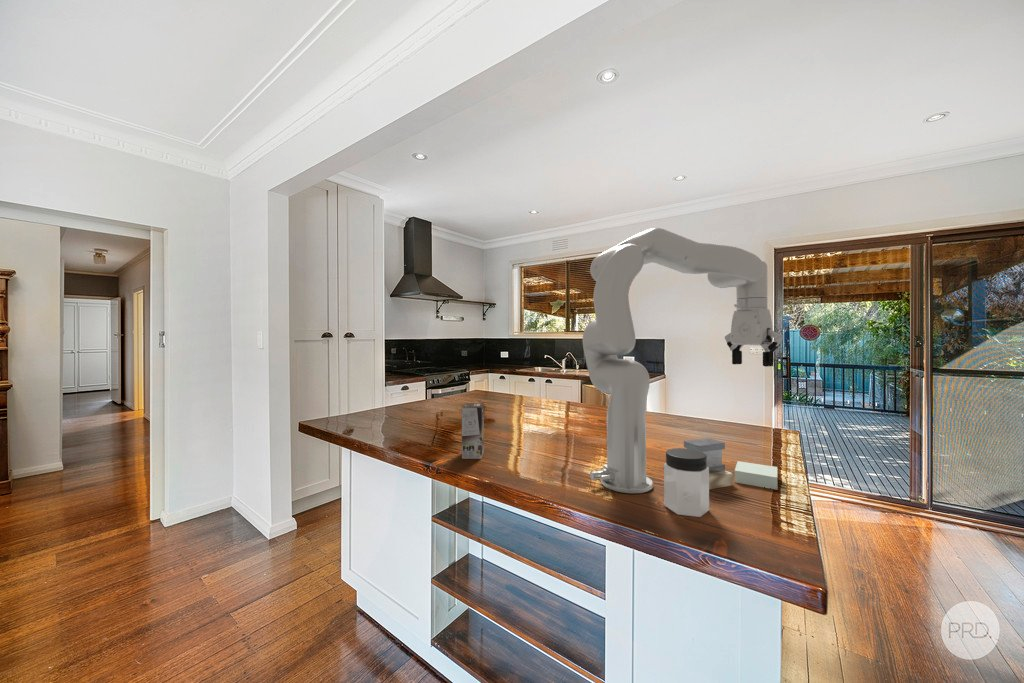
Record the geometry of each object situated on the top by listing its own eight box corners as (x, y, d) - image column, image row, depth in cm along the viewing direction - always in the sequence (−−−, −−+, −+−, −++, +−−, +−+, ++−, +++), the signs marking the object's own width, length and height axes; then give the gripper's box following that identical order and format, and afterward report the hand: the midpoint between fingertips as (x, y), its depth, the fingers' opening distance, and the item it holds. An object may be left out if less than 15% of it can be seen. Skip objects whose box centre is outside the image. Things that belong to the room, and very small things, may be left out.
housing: (698, 474, 95) (698, 445, 95) (683, 468, 100) (683, 440, 100) (725, 470, 98) (724, 442, 98) (709, 464, 103) (709, 437, 103)
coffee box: (482, 459, 119) (481, 407, 119) (461, 459, 119) (460, 407, 119) (484, 450, 128) (484, 402, 128) (465, 450, 128) (464, 402, 128)
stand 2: (777, 489, 93) (777, 477, 93) (734, 482, 98) (734, 470, 98) (777, 478, 100) (777, 467, 100) (737, 472, 106) (737, 461, 106)
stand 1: (704, 490, 93) (704, 477, 93) (677, 477, 102) (677, 466, 102) (732, 485, 96) (732, 473, 96) (704, 473, 105) (704, 462, 105)
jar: (665, 513, 81) (665, 457, 81) (662, 498, 89) (662, 446, 89) (712, 519, 78) (712, 460, 78) (705, 503, 86) (705, 449, 86)
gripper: (716, 307, 117) (716, 363, 117) (771, 302, 100) (771, 367, 100) (735, 308, 119) (735, 363, 119) (791, 302, 103) (791, 366, 103)
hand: (751, 365), depth 110 cm, fingers open, 9 cm apart
